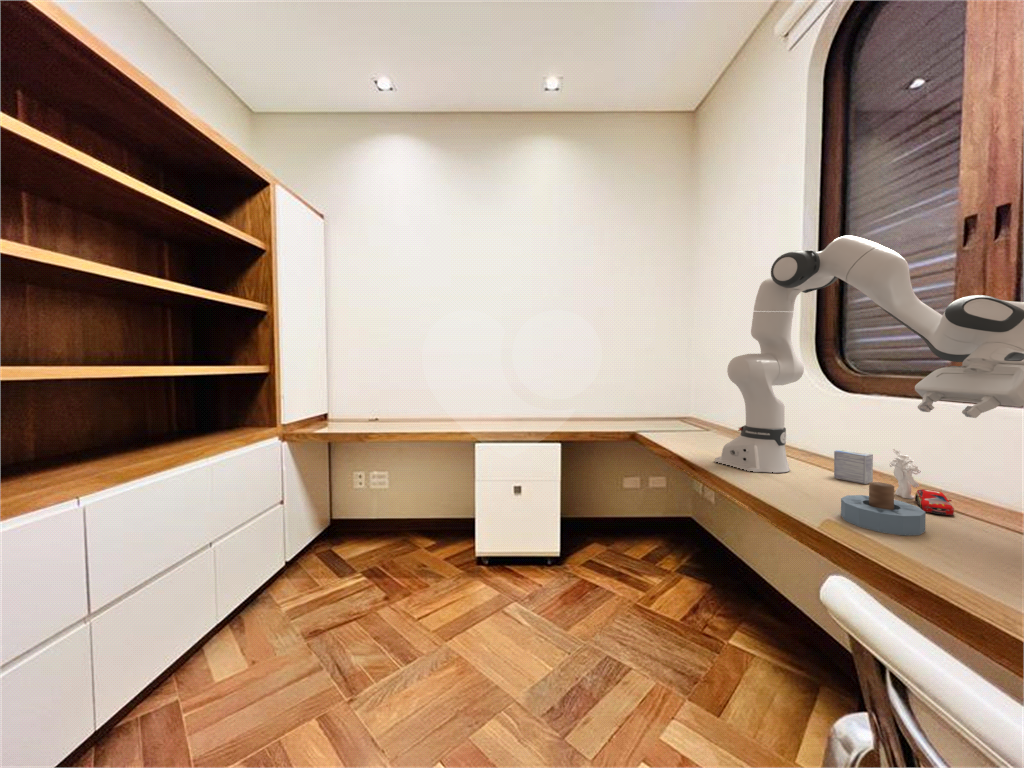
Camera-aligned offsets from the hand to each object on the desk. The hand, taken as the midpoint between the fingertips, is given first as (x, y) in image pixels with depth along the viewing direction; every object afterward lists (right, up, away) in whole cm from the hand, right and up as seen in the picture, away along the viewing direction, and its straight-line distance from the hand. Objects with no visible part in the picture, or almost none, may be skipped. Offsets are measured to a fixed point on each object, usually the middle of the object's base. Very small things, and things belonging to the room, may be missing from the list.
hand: (943, 412), depth 84 cm
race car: (+9, -24, +10) cm, 28 cm away
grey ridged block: (+10, -23, +33) cm, 42 cm away
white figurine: (+10, -24, +19) cm, 32 cm away
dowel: (-12, -24, +2) cm, 27 cm away
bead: (-12, -24, +2) cm, 27 cm away
